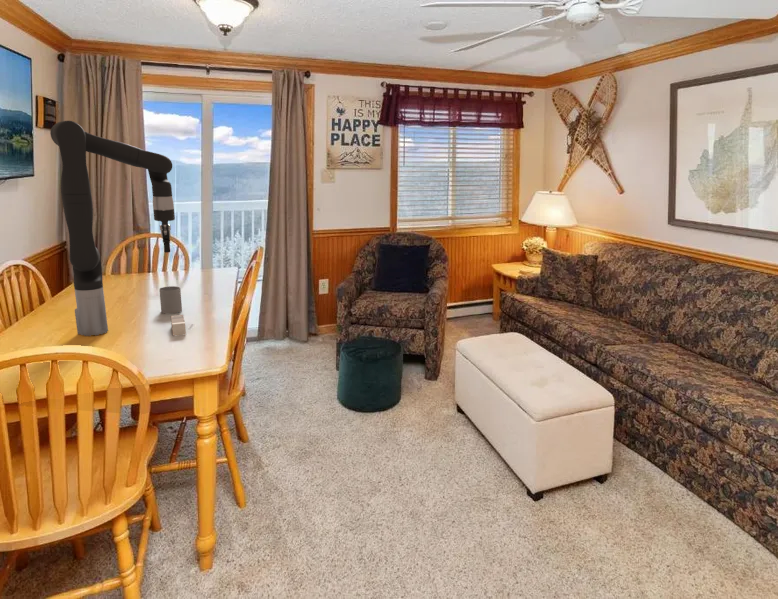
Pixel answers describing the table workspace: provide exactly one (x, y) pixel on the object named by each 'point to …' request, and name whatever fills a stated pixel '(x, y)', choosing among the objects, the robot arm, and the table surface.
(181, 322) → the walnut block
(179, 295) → the cup
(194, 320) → the table surface
